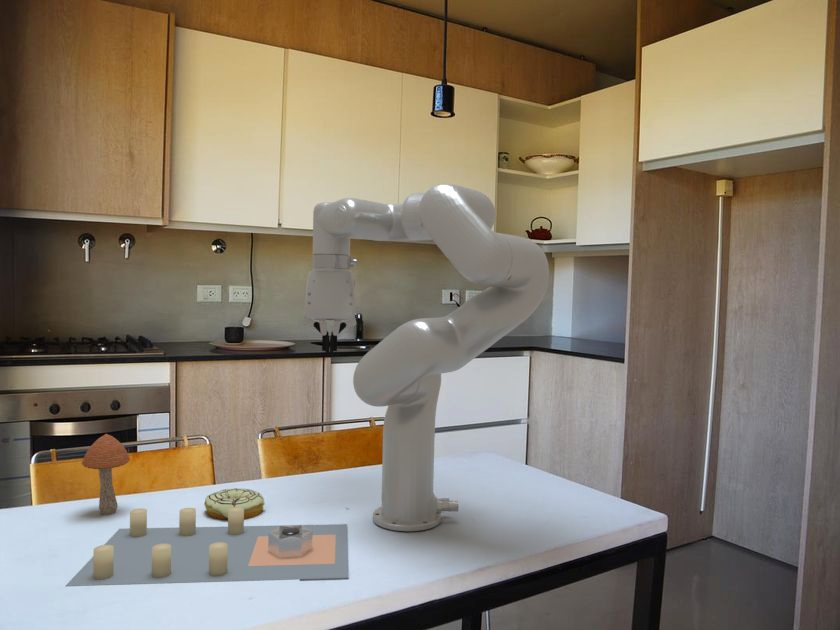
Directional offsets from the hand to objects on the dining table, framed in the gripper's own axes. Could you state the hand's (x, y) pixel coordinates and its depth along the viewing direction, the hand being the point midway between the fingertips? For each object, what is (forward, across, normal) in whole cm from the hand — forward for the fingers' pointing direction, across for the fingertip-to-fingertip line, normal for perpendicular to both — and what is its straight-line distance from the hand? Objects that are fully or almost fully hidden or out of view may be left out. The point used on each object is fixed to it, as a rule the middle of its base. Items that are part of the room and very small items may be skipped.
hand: (329, 354), depth 131 cm
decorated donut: (+30, +17, +9) cm, 35 cm away
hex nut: (+29, +5, +28) cm, 41 cm away
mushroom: (+29, +40, +9) cm, 50 cm away
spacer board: (+29, +16, +28) cm, 43 cm away
